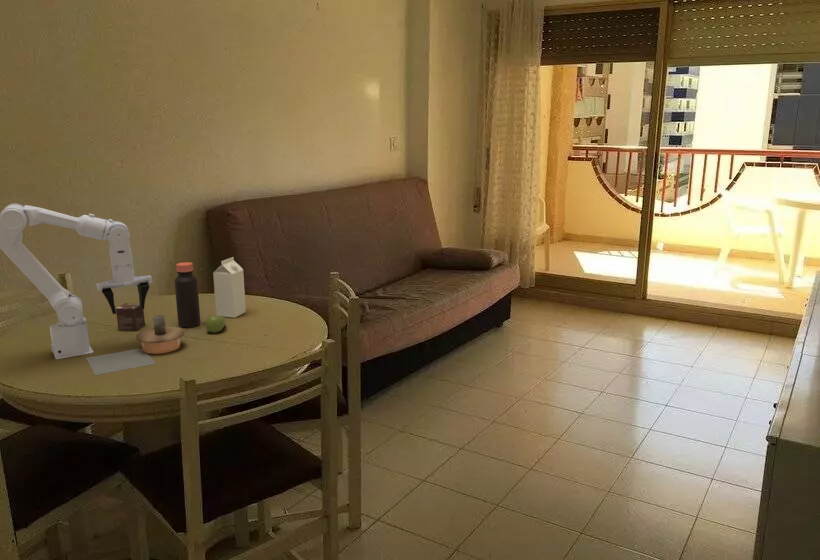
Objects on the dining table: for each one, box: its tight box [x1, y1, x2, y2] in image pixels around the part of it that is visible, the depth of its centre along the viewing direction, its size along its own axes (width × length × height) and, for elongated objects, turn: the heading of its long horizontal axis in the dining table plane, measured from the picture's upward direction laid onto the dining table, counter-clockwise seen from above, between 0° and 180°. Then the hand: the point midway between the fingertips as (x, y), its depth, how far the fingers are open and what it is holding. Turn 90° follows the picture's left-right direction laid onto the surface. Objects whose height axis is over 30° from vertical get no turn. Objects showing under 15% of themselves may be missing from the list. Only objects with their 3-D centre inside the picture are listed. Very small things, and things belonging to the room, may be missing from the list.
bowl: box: [141, 337, 181, 355], centre depth 191 cm, size 10×10×4 cm
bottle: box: [174, 261, 201, 329], centre depth 211 cm, size 7×7×20 cm
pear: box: [205, 314, 227, 334], centre depth 208 cm, size 6×5×10 cm
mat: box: [85, 347, 156, 376], centre depth 181 cm, size 15×15×1 cm
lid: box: [135, 314, 185, 343], centre depth 190 cm, size 13×13×6 cm
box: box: [115, 302, 146, 332], centre depth 209 cm, size 6×6×7 cm
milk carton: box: [212, 256, 247, 319], centre depth 222 cm, size 7×7×19 cm
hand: (128, 310), depth 192 cm, fingers open, 7 cm apart
